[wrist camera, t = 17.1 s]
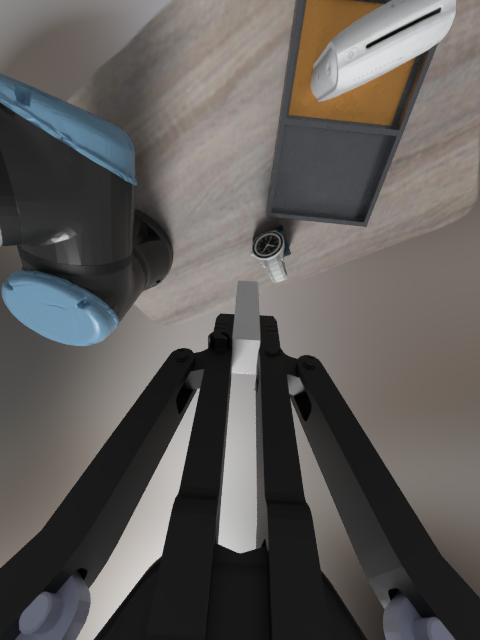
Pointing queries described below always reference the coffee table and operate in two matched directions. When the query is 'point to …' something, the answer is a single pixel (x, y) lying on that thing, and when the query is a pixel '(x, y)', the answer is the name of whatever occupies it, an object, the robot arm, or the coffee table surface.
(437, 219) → the coffee table surface
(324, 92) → the photo printer
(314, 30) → the tray
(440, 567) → the robot arm
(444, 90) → the coffee table surface
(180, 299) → the coffee table surface
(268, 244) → the watch
